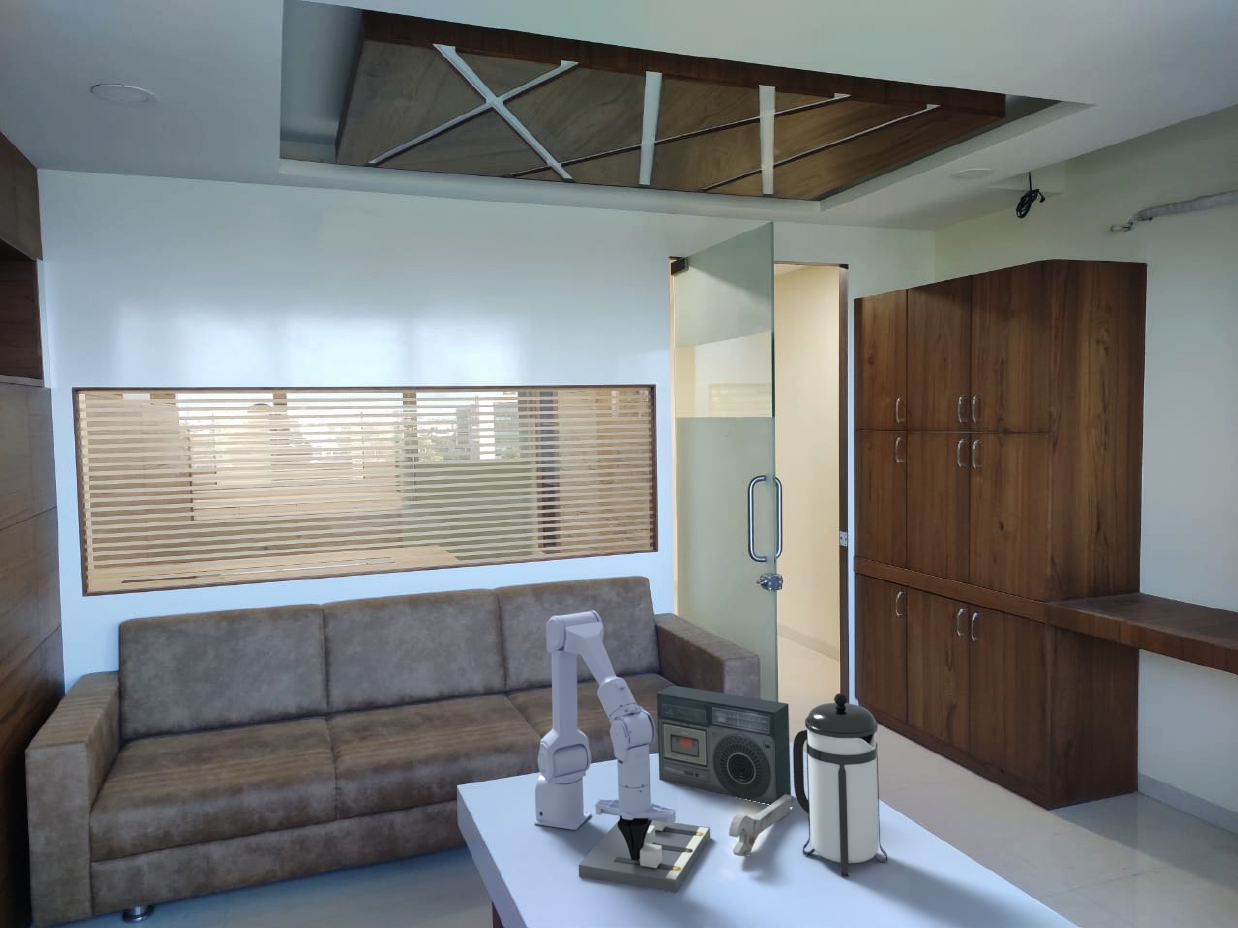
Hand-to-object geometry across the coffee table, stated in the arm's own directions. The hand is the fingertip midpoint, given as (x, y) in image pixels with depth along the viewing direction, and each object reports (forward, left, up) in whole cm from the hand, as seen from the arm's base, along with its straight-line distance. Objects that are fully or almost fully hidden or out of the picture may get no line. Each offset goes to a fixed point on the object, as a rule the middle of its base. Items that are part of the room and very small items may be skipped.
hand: (636, 857), depth 151 cm
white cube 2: (-1, +7, 0) cm, 7 cm away
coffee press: (+32, +18, -3) cm, 37 cm away
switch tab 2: (+3, 0, 0) cm, 3 cm away
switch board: (-1, +7, -3) cm, 7 cm away
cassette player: (+4, +42, -3) cm, 42 cm away
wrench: (+18, +22, -3) cm, 29 cm away
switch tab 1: (-1, +14, 0) cm, 14 cm away
